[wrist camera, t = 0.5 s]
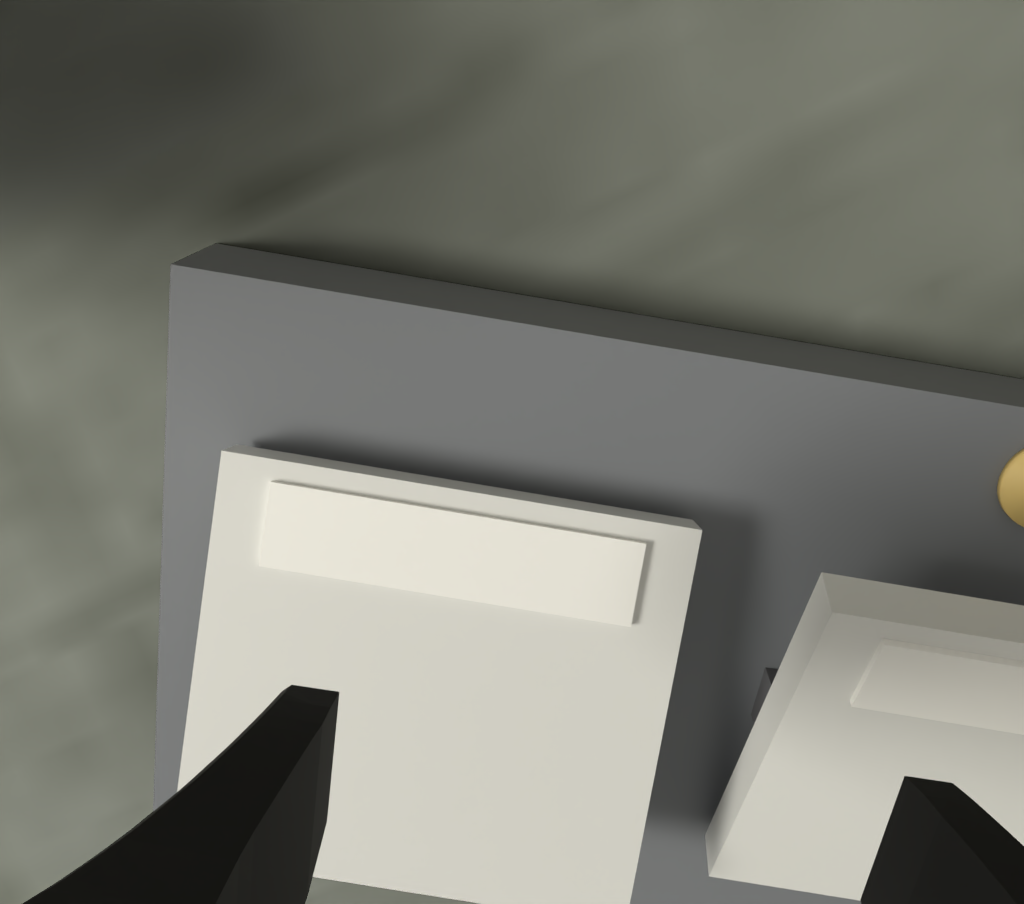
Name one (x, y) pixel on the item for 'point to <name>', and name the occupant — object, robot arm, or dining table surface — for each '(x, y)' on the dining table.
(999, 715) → the switch
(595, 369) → the switch panel
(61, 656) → the dining table surface
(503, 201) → the dining table surface
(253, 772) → the robot arm
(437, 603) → the switch
